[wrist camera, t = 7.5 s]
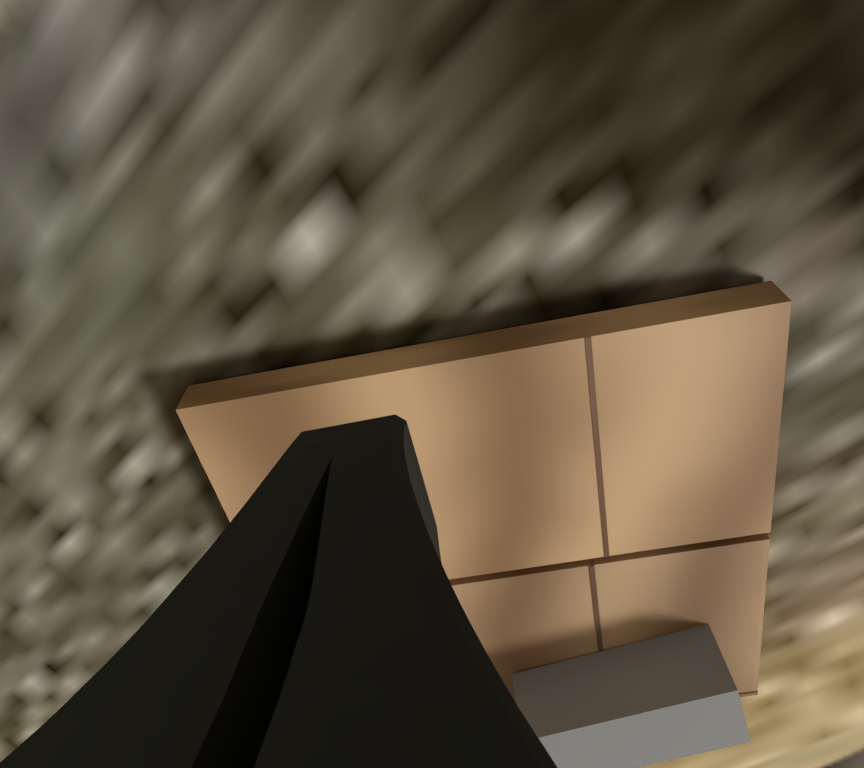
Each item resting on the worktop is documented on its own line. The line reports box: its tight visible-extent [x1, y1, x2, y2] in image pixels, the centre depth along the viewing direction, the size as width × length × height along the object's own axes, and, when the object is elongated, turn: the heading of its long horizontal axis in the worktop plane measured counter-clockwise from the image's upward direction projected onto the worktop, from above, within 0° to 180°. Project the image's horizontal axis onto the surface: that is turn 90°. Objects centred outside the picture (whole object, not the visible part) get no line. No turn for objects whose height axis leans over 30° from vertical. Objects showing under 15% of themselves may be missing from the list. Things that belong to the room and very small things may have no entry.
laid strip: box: [449, 533, 770, 702], centre depth 25 cm, size 16×8×1 cm, turn 101°
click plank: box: [176, 281, 792, 579], centre depth 20 cm, size 16×8×1 cm, turn 101°
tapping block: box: [512, 624, 751, 768], centre depth 24 cm, size 7×3×2 cm, turn 111°
